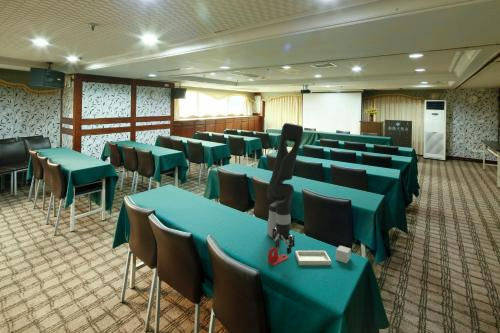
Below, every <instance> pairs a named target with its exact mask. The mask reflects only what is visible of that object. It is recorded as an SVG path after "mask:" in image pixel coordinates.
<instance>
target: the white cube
mask: <svg viewBox="0 0 500 333" xmlns="http://www.w3.org/2000/svg"><path fill="white" fill-rule="evenodd" d="M351 252H352V248H350V247H346V246H343V245H339V246H338V247H337V248H336V249H335V260H336V261H337V262H342V263H345V264H348V262H349V261H350V259H351Z"/></svg>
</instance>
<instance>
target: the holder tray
mask: <svg viewBox="0 0 500 333" xmlns="http://www.w3.org/2000/svg"><path fill="white" fill-rule="evenodd" d="M294 252H295V254H294V255H295V258H296V261H297V263H298V266H332V260H331V258H330V257H329V255H328V253H327V251H326V250H295V251H294Z"/></svg>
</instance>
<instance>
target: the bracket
mask: <svg viewBox="0 0 500 333" xmlns="http://www.w3.org/2000/svg"><path fill="white" fill-rule="evenodd" d="M288 259H289V256H288V255H287V254H285V253H284V254H283V253H281V254H280V255H279V249H278V248H276V246H272V247H271V248H269V250H268V252H267V263H268V264H270V265H272V266H273V265H274V266H276V265H279V264H281V263H282V262H285V261H287V260H288Z"/></svg>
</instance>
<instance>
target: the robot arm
mask: <svg viewBox="0 0 500 333" xmlns="http://www.w3.org/2000/svg"><path fill="white" fill-rule="evenodd" d="M303 134H304V127H303V125H299V124H295V123H290V122H285V123H284V124H283V126H282V127H281V131H280V138H279V143H278V144H279V145H278V148H277V149H278V150H277V153H276V156H275V159H274V164H273V169H272V173H271V177H270V180H269V183H268V186H267V190H266V196H267V197H266V198H267V199H268V200H271V201H274V202H272V203H271V204H269V206H268V219H267V229H266V230H267V233H266V234H267V236H268V237H269V238H272V239H273V240H274V244H275V245H274V247H276V248H277V249H278V248H280V241H281V240H282V241H283V242H284V244H285V245H286V255H290V254H291V253H292V248H294V247H295V243H296V242H295V235H291V234H290V231H291V223H292V222H291V220H292V219H291V218H292V217H291V204H292V200H293V195H294V192H295V189H294V188H295V187H294V186H293V184H290V183H284V182H285V181H290V180H293V177H294V169H295V165H296V160H297V157H298V154H299V150H300V148H301V144H302V143H301V142H302V140H303ZM286 141H287V142H292V143H294V144H293V146H292V148H291V149H290V151H289V150H288V147H287V144H286V143H287V142H286Z"/></svg>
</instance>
